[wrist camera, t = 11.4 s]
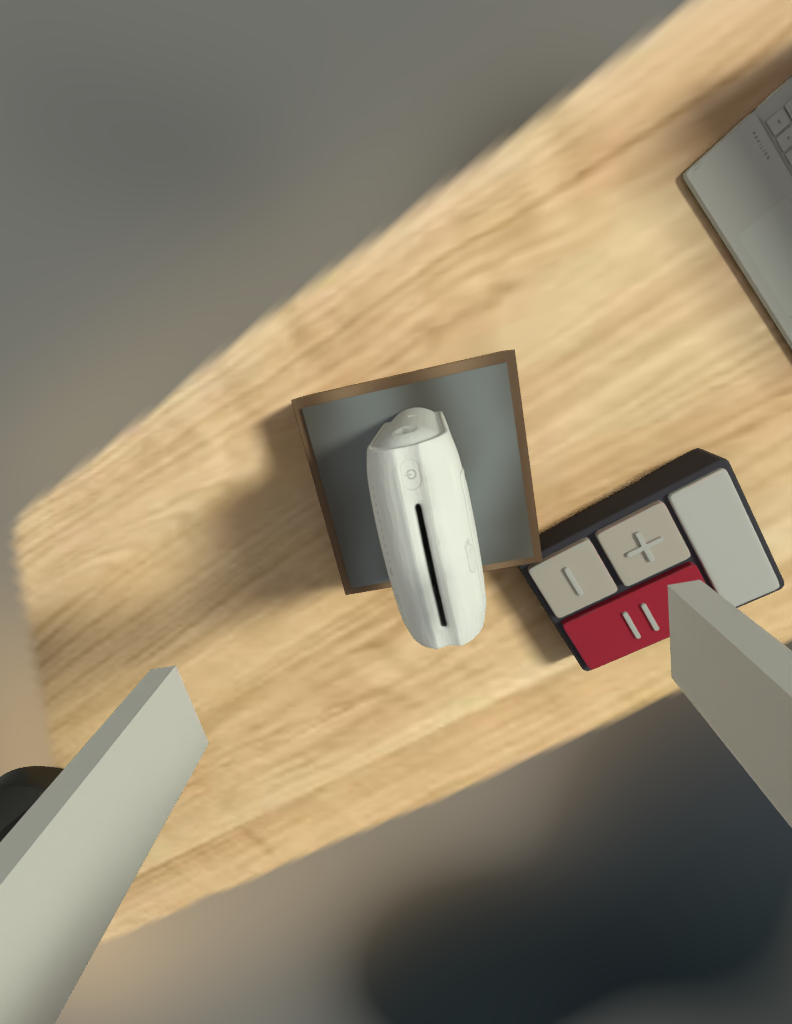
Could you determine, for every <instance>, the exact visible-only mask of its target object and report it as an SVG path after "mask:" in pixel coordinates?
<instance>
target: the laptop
mask: <svg viewBox="0 0 792 1024" xmlns="http://www.w3.org/2000/svg"><path fill="white" fill-rule="evenodd" d="M683 179H684V181H685V182H686V184H687V185H688V187H689V189H690V190H691V192H692V193H693V195H694V196H695V198H696V200H697V201H698V203H699V204H700V206H701V207H702V209H703V211H704V212H705V214H706V215H707V217H708V219H709V220H710V222H711V223H712V225H713V226H714V228H715V230H716V231H717V233H718V234H719V236H720V237H721V239H722V241H723V242H724V244H725V245H726V247H727V248H728V250H729V252H730V253H731V255H732V256H733V258H734V260H735V261H736V263H737V264H738V266H739V267H740V269H741V271H742V272H743V274H744V275H745V277H746V278H747V280H748V282H749V283H750V285H751V286H752V288H753V290H754V291H755V293H756V294H757V296H758V297H759V299H760V301H761V302H762V304H763V305H764V307H765V308H766V310H767V312H768V313H769V315H770V316H771V318H772V320H773V321H774V323H775V324H776V326H777V327H778V329H779V331H780V332H781V334H782V335H783V337H784V338H785V340H786V342H787V343H788V345H789V346H790V348H791V349H792V76H790V77H789V78H788V79H787V80H786V81H785V82H784V83H783V84H782V85H780V86H779V87H778V88H777V89H776V90H775V91H774V92H773V93H771V94H770V95H769V96H768V97H767V98H766V99H765V100H764V101H763V102H762V103H761V104H759V105H758V106H757V107H756V108H755V109H754V110H753V111H752V112H751V113H749V114H748V115H747V116H746V117H745V118H744V119H743V120H742V121H741V122H740V123H738V124H737V125H736V126H735V127H734V128H733V129H732V130H731V131H730V132H728V133H727V134H726V135H725V136H724V137H723V138H722V139H721V140H720V141H718V142H717V143H716V144H715V145H714V146H713V147H712V148H711V149H710V150H709V151H707V152H706V153H705V154H704V155H703V156H702V157H701V158H700V159H699V160H697V161H696V162H695V163H694V164H693V165H692V166H691V167H690V168H689V169H688V170H687V171H686V172H684V174H683Z"/></svg>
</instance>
